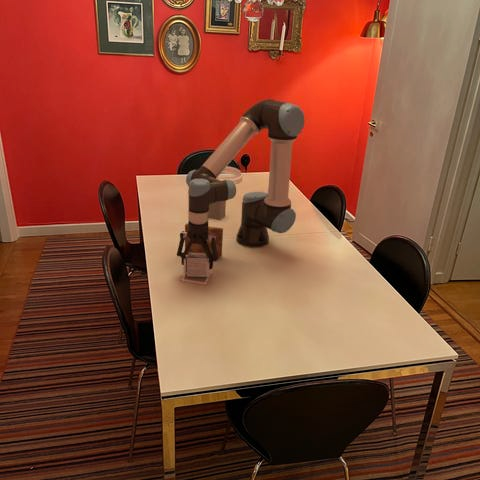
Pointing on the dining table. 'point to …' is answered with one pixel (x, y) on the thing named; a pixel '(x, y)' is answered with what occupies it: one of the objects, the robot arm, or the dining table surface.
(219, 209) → the perfume bottle
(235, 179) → the pale pink ring
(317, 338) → the dining table surface
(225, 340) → the dining table surface
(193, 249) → the wooden board with stops
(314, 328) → the dining table surface
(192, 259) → the box
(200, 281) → the picture frame
